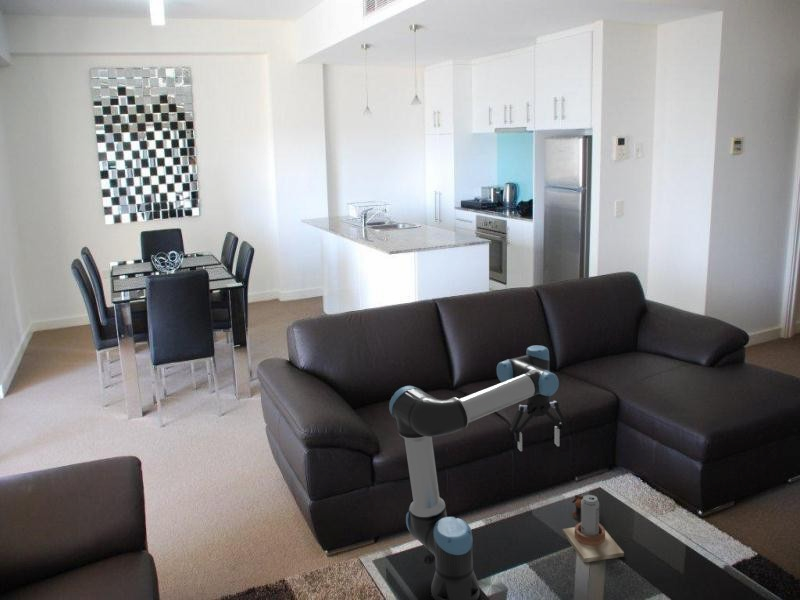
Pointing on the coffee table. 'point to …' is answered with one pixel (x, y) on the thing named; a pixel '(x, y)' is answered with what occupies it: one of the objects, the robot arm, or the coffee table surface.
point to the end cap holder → (593, 544)
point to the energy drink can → (590, 515)
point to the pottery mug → (577, 506)
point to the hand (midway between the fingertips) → (538, 447)
